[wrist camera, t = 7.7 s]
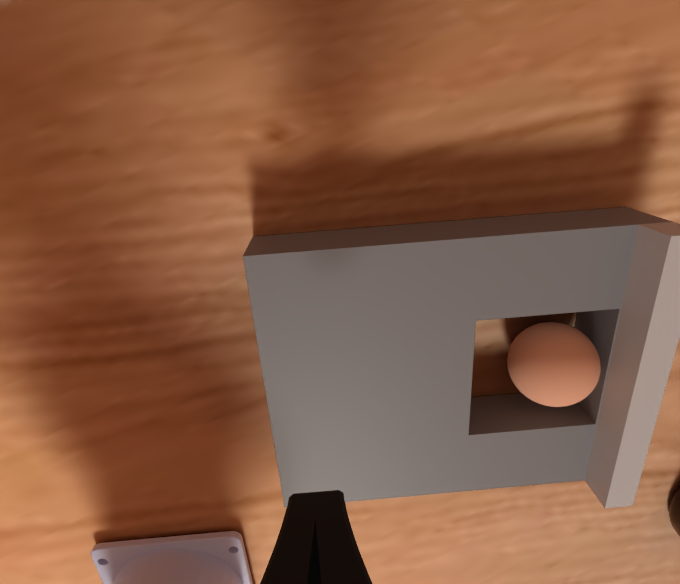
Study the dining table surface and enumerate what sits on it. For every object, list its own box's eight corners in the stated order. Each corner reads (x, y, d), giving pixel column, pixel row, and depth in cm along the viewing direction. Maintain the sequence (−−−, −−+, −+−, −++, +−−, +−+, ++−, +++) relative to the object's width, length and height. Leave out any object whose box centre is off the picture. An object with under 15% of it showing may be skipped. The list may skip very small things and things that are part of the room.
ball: (603, 403, 18) (558, 438, 17) (529, 364, 21) (483, 389, 19) (629, 334, 17) (582, 363, 15) (546, 300, 19) (498, 321, 18)
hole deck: (579, 439, 22) (632, 505, 18) (288, 465, 22) (282, 537, 18) (625, 206, 17) (708, 233, 14) (253, 236, 17) (235, 271, 13)
